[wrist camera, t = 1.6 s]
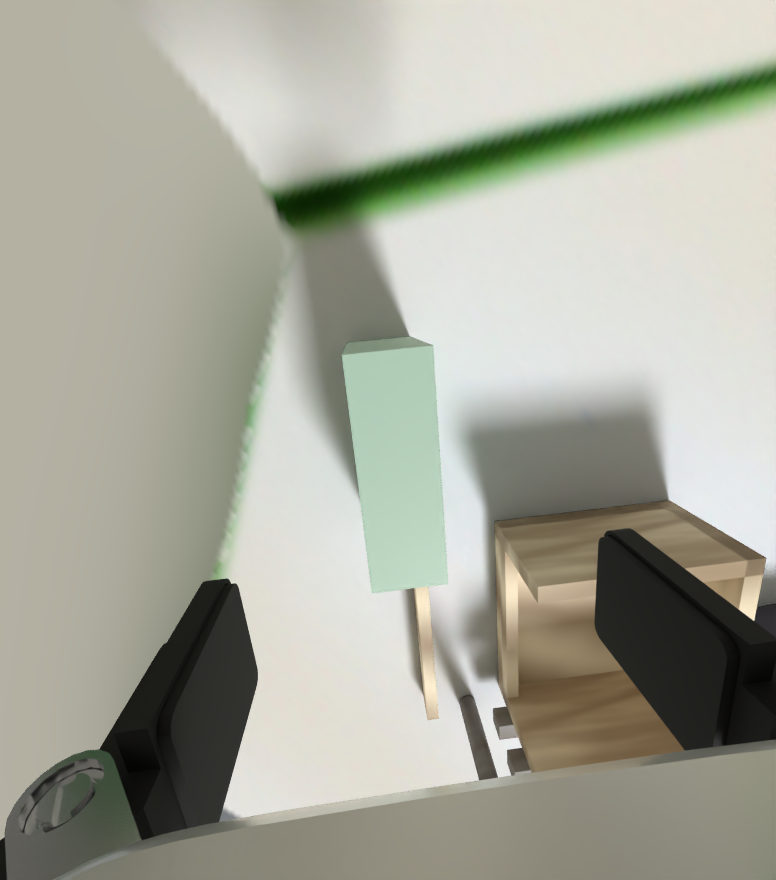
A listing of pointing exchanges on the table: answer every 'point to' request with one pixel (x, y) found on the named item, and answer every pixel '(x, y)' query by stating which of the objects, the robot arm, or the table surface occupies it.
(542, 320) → the table surface
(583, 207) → the table surface
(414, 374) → the green block
